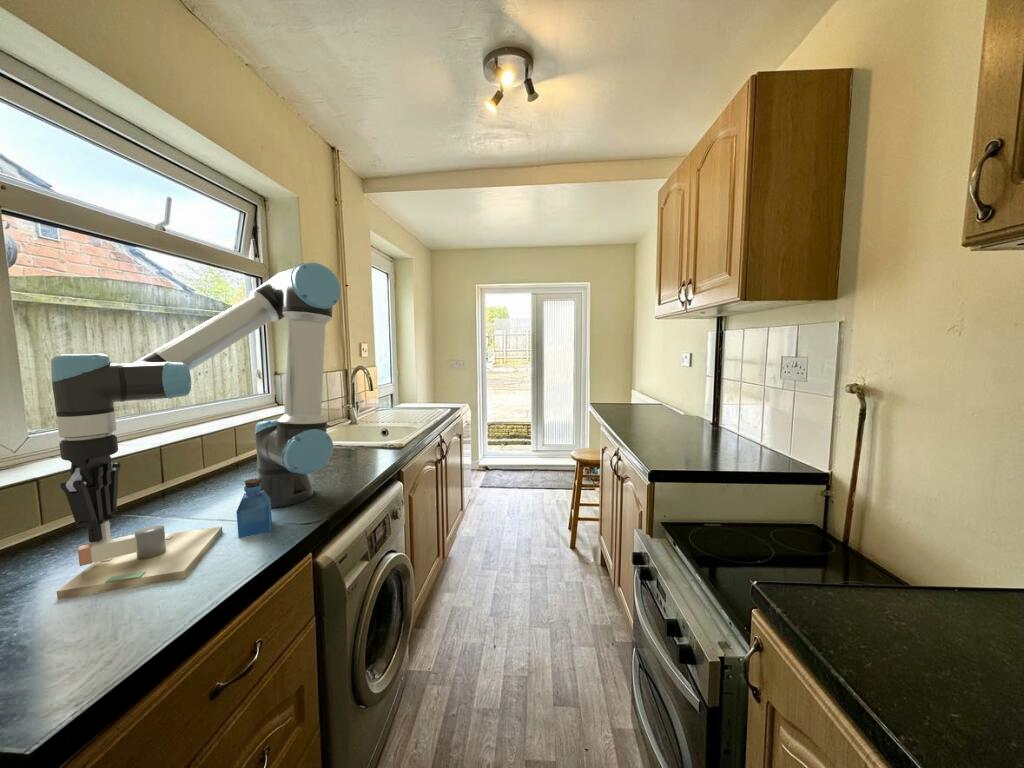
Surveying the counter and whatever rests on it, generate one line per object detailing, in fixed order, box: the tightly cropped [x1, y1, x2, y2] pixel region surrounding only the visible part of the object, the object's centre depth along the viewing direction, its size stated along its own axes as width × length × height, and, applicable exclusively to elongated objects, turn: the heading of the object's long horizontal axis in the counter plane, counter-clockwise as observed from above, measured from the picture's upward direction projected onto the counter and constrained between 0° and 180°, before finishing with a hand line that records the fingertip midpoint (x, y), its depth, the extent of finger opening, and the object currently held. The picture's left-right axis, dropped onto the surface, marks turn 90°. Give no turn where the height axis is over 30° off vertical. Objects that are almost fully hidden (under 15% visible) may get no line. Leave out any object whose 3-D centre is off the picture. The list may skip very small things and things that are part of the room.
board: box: [56, 526, 223, 600], centre depth 81 cm, size 18×20×2 cm
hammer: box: [77, 524, 166, 567], centre depth 78 cm, size 12×4×5 cm, turn 129°
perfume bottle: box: [236, 477, 273, 539], centre depth 94 cm, size 6×6×12 cm
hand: (101, 554), depth 78 cm, fingers closed
